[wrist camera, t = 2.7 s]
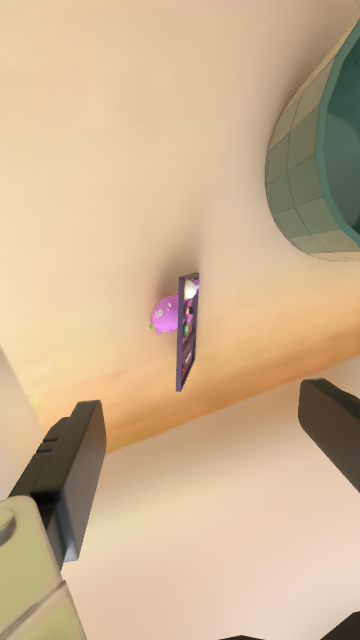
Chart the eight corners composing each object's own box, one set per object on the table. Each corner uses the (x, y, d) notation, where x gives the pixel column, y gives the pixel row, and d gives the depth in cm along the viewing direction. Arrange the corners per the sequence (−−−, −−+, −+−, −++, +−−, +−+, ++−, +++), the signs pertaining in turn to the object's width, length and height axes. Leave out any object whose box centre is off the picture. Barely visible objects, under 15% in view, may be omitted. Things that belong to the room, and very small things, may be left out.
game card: (189, 394, 18) (194, 277, 16) (127, 385, 19) (124, 274, 17) (201, 360, 25) (206, 273, 22) (154, 354, 26) (155, 271, 24)
